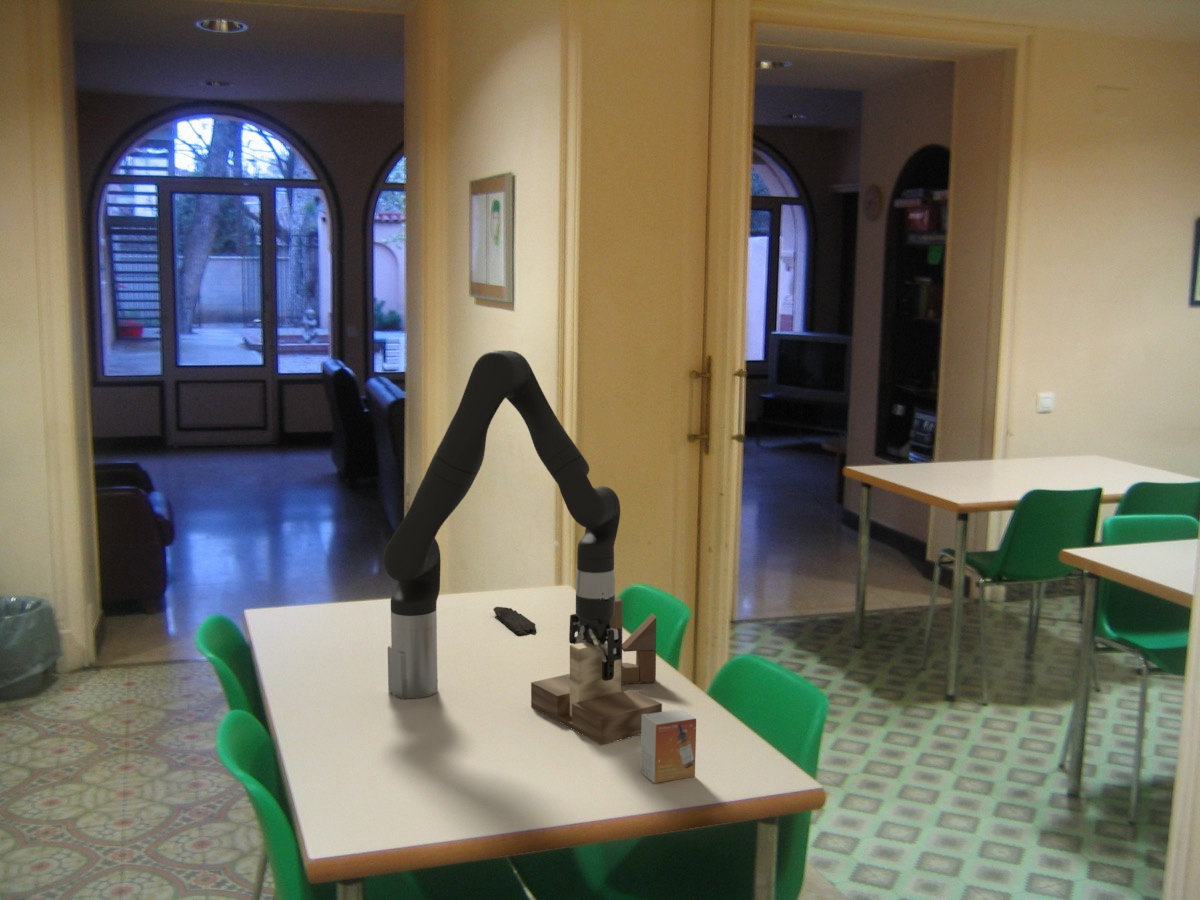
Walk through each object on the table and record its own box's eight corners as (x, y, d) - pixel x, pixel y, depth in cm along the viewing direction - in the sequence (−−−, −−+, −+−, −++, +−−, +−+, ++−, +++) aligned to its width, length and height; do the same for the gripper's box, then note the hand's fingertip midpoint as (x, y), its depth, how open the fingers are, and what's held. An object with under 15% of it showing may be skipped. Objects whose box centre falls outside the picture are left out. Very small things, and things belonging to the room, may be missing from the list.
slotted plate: (601, 745, 216) (601, 718, 215) (531, 706, 235) (531, 682, 234) (661, 728, 224) (661, 703, 223) (589, 692, 243) (589, 669, 242)
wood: (547, 635, 284) (547, 623, 284) (517, 638, 281) (517, 626, 281) (516, 611, 304) (516, 600, 304) (488, 614, 301) (488, 602, 301)
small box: (654, 784, 199) (654, 724, 198) (639, 772, 204) (640, 713, 203) (696, 777, 202) (697, 718, 201) (681, 764, 207) (682, 707, 206)
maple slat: (578, 720, 225) (578, 649, 223) (569, 715, 228) (569, 645, 226) (620, 709, 231) (621, 640, 229) (611, 705, 233) (612, 636, 231)
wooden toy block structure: (656, 682, 250) (657, 599, 247) (606, 686, 247) (606, 602, 245) (651, 677, 253) (652, 595, 251) (602, 680, 251) (603, 597, 248)
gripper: (558, 586, 230) (558, 667, 232) (600, 603, 218) (600, 687, 220) (590, 581, 234) (589, 660, 236) (633, 597, 222) (632, 680, 225)
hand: (594, 673), depth 228 cm, fingers open, 8 cm apart
